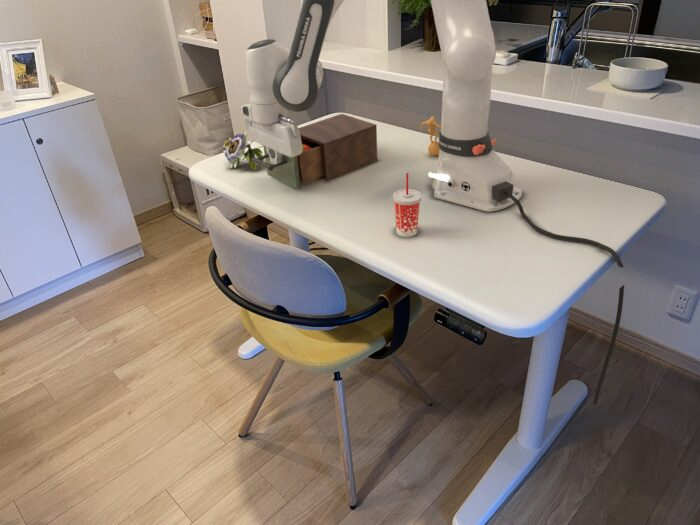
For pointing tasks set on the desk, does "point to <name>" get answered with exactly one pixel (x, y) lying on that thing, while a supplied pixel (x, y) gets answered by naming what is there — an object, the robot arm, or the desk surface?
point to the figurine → (431, 125)
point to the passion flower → (240, 150)
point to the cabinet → (343, 143)
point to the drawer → (296, 165)
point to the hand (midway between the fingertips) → (276, 163)
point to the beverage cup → (407, 210)
